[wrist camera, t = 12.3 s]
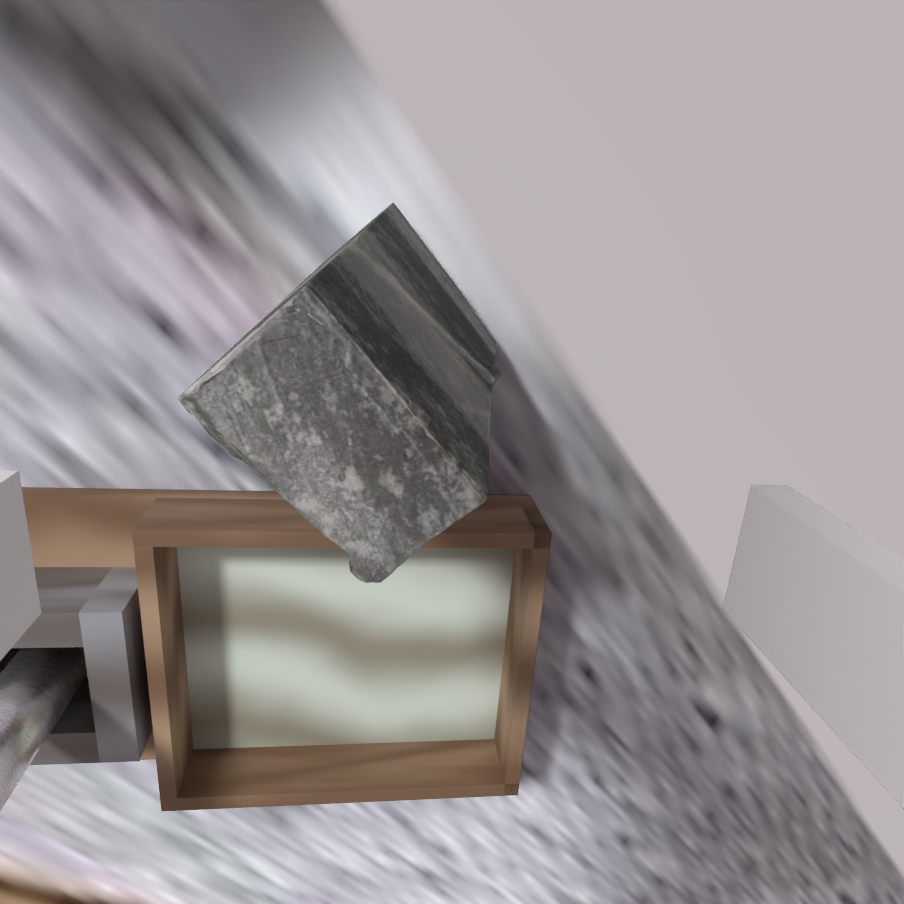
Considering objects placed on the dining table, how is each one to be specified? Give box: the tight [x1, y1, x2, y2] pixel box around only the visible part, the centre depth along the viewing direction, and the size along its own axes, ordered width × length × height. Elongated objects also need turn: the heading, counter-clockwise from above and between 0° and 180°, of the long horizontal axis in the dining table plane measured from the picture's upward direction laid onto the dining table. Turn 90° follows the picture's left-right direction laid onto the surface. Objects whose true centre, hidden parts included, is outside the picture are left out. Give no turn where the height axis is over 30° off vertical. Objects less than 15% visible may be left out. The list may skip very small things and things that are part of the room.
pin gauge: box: [0, 647, 87, 811], centre depth 27 cm, size 3×3×13 cm
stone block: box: [178, 203, 501, 583], centre depth 24 cm, size 9×14×5 cm
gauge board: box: [0, 487, 552, 811], centre depth 33 cm, size 16×28×5 cm, turn 86°
